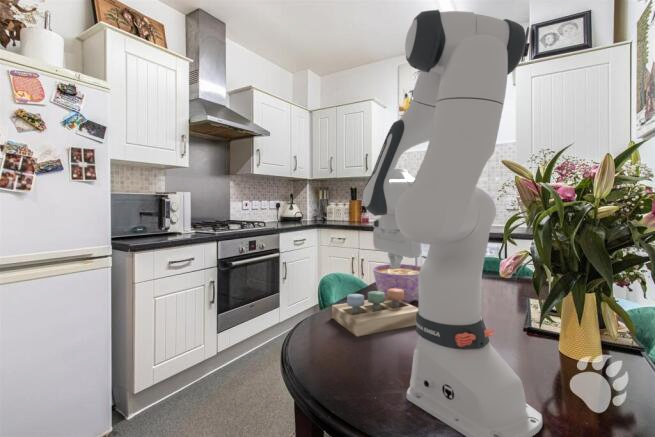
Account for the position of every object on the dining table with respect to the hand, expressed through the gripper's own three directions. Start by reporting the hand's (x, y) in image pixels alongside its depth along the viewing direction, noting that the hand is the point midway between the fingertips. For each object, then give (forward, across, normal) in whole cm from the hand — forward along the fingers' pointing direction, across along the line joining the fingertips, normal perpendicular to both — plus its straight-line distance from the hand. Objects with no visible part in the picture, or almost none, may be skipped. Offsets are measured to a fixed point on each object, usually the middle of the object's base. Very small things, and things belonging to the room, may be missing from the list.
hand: (395, 267), depth 102 cm
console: (+15, 0, +7) cm, 17 cm away
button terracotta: (+13, 0, 0) cm, 13 cm away
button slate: (+13, 0, +14) cm, 19 cm away
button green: (+13, 0, +7) cm, 15 cm away
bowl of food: (+16, +14, -12) cm, 24 cm away
